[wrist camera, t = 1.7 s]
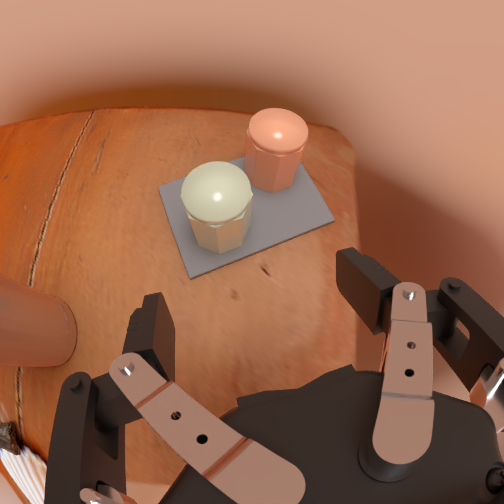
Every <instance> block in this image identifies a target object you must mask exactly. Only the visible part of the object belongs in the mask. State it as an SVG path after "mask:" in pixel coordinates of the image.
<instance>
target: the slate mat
mask: <svg viewBox="0 0 504 504" xmlns="http://www.w3.org/2000/svg"><path fill="white" fill-rule="evenodd" d="M227 163H230V164H233V165H235V166H237V167H238V168H240V169H241V170H242V171H243V172H244V173H245V174H246V172H245V171H244V168H245V157H241V158H238V159H235V160H232V161H229V162H227ZM246 176H247V174H246ZM186 177H187V176H186ZM186 177H183V178H181V179H178V180H175V181H173V182H170V183H168V184H165V185H163V186H160V187H158V189H159V192H160V195H161V198H162V201H163V204H164V207H165V210H166V213H167V216H168V219H169V222H170V225H171V228H172V231H173V234H174V236H175V239H176V242H177V245H178V248H179V250H180V253H181V256H182V259H183V261H184V264H185V267H186V269H187V272H188V275H189V277H190V279H193V278H196V277H198V276H201V275H203V274H206V273H208V272H211V271H213V270H216V269H218V268H221V267H223V266H226V265H228V264H231V263H233V262H236V261H238V260H240V259H243V258H245V257H248V256H250V255H253V254H255V253H258V252H260V251H263V250H265V249H268V248H270V247H273V246H275V245H278V244H280V243H282V242H285V241H287V240H290V239H292V238H295V237H297V236H300V235H302V234H305V233H307V232H310V231H312V230H315V229H317V228H319V227H322V226H324V225H327V224H329V223H332V222H334V220H335V219H334V217H333V215H332V214H331V212H330V210H329V208H328V207H327V205H326V203H325V202H324V200H323V198H322V196H321V195H320V193H319V191H318V190H317V188H316V186H315V185H314V183H313V182H312V180H311V178H310V177H309V175H308V173H307V172H306V170H305V169H304V167H303V165H302V164H301V162H300V163H299V166H298V169H297V172H296V174H295V177H294V180H293V182H292V185H291V187H289V188H286V189H283V190H280V191H277V192H274V193H271V192H268V191H265V190H262V189H259V188H257V187H254V186H252V184H251V182H250V180H249V182H250V186H251V191H252V193H253V201H252V210H251V220H250V227H249V229H248V231H247V234H246V236H245V238H244V241H243V243H242V246H240V247H237V248H235V249H232V250H230V251H227V252H225V253H222V254H218V253H215V252H213V251H210V250H207V249H205V248H202V247H200V246H199V245H198V243H197V240H196V237H195V235H194V232H193V230H192V227H191V225H190V222H189V219H188V216H187V213H186V210H185V207H184V205H183V202H182V199H181V196H180V195H181V190H182V185H183V182H184V180H185V178H186ZM247 177H248V176H247ZM248 179H249V178H248Z"/></svg>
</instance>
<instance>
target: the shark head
mask: <svg viewBox="0 0 504 504" xmlns="http://www.w3.org/2000/svg"><path fill="white" fill-rule="evenodd" d="M0 447H2V448H3V449H5V450H7V451H9V452H11V453H13V454H14V455H20V453H19V452H20V447H19V445H18V444H17V442H16V434H15V427H14V423H13V422H12V421H10V422H9V423H0Z"/></svg>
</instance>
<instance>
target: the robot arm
mask: <svg viewBox="0 0 504 504" xmlns="http://www.w3.org/2000/svg"><path fill="white" fill-rule="evenodd" d="M336 283H337V287H338V289H339V291H340V293H341V294H342V295H343V296H344V298H345V299H346V300H347V301H348V303H349V304H350V305H351V306H352V308H353V309H354V310H355V311H356V313H357V314H358V315H359V316H360V318H361V319H362V320H363V321H364V323H365V324H366V325H367V326H368V328H369V329H370V330H371V332H372V333H373V334H374V335H376V334H378V333H381V332H384V333H385V334H386V335H385V340H384V346H383V353H382V359H381V365H380V371H379V372H376V371H355V369H354V367H353V366H352V364H350V365H347V366H345V367H342V368H339V369H336V370H333V371H330V372H328V373H325V374H323V375H322V376H320V377H318V378H316V379H315V380H313V381H311V382H310V383H308V384H306V385H304V386H303V387H301V388H298V389H289V390H274V391H264V392H260V393H256V394H252V395H247V396H243V397H239V398H237V403H238V407H236V408H233V409H232V410H230V411H228V412H227V413H225V414H224V415H223V416H221V417H220V418H219V419H218V418H217V417H216V416H214V415H213V414H212V413H210V412H209V411H208V410H207V409H205V408H204V407H203V406H202V405H200V404H199V403H198V402H197V401H195V400H194V399H193V398H192V397H190V396H189V395H188V394H187V393H186V392H185V391H183V390H182V389H181V388H180V387H179V386H178V385H176V384H175V327H174V323H173V320H172V317H171V315H170V312H169V310H168V307H167V305H166V302H165V299H164V297H163V295H162V293H161V292H159V293H154V294H149V295H145V296H144V300H143V305H142V308H137V309H136V310H135V311H134V312H133V314H132V315H131V316H130V320H129V326H128V329H127V333H126V338H125V342H124V347H123V352H122V355H120V356H119V357H117V358H116V359H115V360H114V361H113V362H112V363H111V365H110V368H109V372H108V373H106V374H104V375H101V376H99V377H96V378H94V379H91V377H90V376H89V375H88V374H87V373H85V372H76V373H74V374H72V375H70V376H69V377H68V378H67V379H66V380H65V381H64V383H63V385H62V388H61V392H60V396H59V401H58V405H57V410H56V414H55V419H54V424H53V430H52V435H51V441H50V448H49V455H48V463H47V472H46V482H45V498H44V504H137V503H136V502H135V501H134V500H133V499H132V498H130V497H128V496H127V495H126V477H125V424H127V423H130V422H133V421H135V420H138V419H140V418H143V419H144V420H145V421H146V422H147V423H148V424H149V425H150V426H151V428H152V429H153V430H154V431H155V432H156V433H157V434H158V435H159V436H160V437H161V438H162V439H163V440H164V441H165V442H166V443H167V445H168V446H169V447H170V448H171V449H172V450H173V451H174V452H175V453H176V454H177V455H178V456H179V457H180V458H182V459H183V460H184V461H185V462H186V463H187V464H186V466H185V467H184V469H183V470H182V471H181V473H180V474H179V476H178V477H177V479H176V480H175V481H174V483H173V484H172V486H171V487H170V488H169V490H168V491H167V492H166V494H165V495H164V497H163V498H162V499H161V501H160V502H159V503H158V504H504V462H503V460H502V457H501V454H500V451H499V447H498V441H497V434H498V433H499V432H504V317H503V316H501V315H500V314H499V313H498V312H497V311H496V310H495V309H494V308H493V307H492V306H491V305H490V304H489V303H487V302H486V301H485V300H484V299H483V298H482V297H481V296H480V295H479V294H477V293H476V292H475V291H474V290H473V289H471V288H470V287H469V286H468V285H467V284H466V283H465V282H463V281H462V280H460V279H457V278H451V277H449V278H445V279H443V280H442V281H441V282H440V285H439V289H438V290H430V291H424V289H423V288H422V287H421V286H419V285H418V284H415V283H411V282H403V283H402V282H401V281H399V280H398V279H397V278H396V277H395V276H394V275H393V274H391V273H390V272H389V271H388V270H387V269H385V267H383V266H382V265H380V263H379V262H377V261H376V260H375V259H374V258H372V257H369V256H367V255H362V254H360V253H359V252H358V251H357V250H356V249H355V248H353V247H350V248H346V249H343V250H339V251H337V253H336ZM459 320H460V321H461V322H462V323H463V324H464V325H465V327H466V328H467V329H468V331H469V333H470V338H469V340H468V339H467V337H466V336H465V335H464V334H463V333H462V332H461V331H460V330H459V329H458V328H457V325H458V322H459ZM76 338H77V329H76V323H75V319H74V316H73V314H72V312H71V310H70V308H69V307H68V306H67V305H66V303H65V302H63V301H62V300H61V299H58V298H56V297H53V296H51V295H48V294H46V293H43V292H41V291H38V290H36V289H33V288H31V287H28V286H26V285H23V284H21V283H19V282H16V281H14V280H12V279H9V278H7V277H5V276H2V275H0V366H21V367H52V366H59V365H62V364H63V363H65V362H66V361H67V360H68V359H69V358H70V357H71V355H72V353H73V351H74V348H75V345H76ZM433 345H434V347H435V348H436V349H437V350H438V352H439V353H440V354H441V355H442V357H443V358H444V359H445V360H446V362H447V363H448V364H449V366H450V367H451V368H452V369H453V371H454V372H455V373H456V375H457V376H458V377H459V378H460V380H461V382H462V383H463V384H464V385H465V387H466V388H467V390H468V391H469V393H470V401H471V403H470V402H467V401H464V400H460V399H457V398H454V397H451V396H448V395H445V394H442V393H439V392H436V391H433V390H432V382H433Z"/></svg>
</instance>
